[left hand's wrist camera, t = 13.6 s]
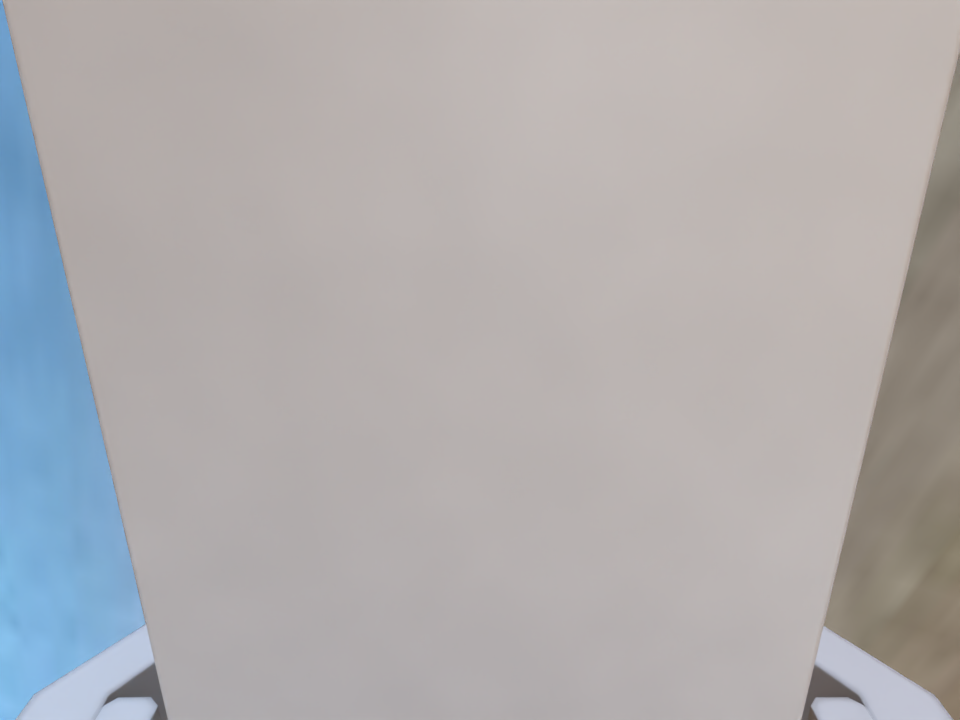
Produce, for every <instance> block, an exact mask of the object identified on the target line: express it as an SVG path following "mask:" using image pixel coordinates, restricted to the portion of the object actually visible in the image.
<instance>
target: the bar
mask: <svg viewBox="0 0 960 720" xmlns="http://www.w3.org/2000/svg"><path fill="white" fill-rule="evenodd" d="M2 1H3V5H4V9H5V14H6V18H7V23H8V27H9V31H10V36H11V40H12V44H13V49H14V53H15V57H16V62H17V66H18V70H19V75H20V79H21V83H22V88H23V92H24V96H25V101H26V105H27V109H28V114H29V118H30V123H31V127H32V131H33V136H34V140H35V144H36V149H37V153H38V157H39V162H40V166H41V170H42V175H43V179H44V183H45V188H46V192H47V196H48V201H49V205H50V209H51V214H52V218H53V223H54V227H55V231H56V236H57V240H58V244H59V249H60V253H61V257H62V262H63V266H64V270H65V275H66V279H67V283H68V288H69V292H70V296H71V301H72V305H73V309H74V314H75V318H76V323H77V327H78V331H79V336H80V340H81V344H82V349H83V353H84V357H85V362H86V366H87V370H88V375H89V379H90V383H91V388H92V392H93V396H94V401H95V405H96V409H97V414H98V418H99V423H100V427H101V431H102V436H103V440H104V444H105V449H106V453H107V457H108V462H109V466H110V470H111V475H112V479H113V483H114V488H115V492H116V496H117V501H118V505H119V509H120V514H121V518H122V523H123V527H124V531H125V536H126V540H127V544H128V549H129V553H130V557H131V562H132V566H133V570H134V575H135V579H136V583H137V588H138V592H139V596H140V601H141V605H142V609H143V614H144V618H145V623H146V627H147V631H148V636H149V640H150V644H151V649H152V653H153V657H154V662H155V666H156V670H157V675H158V679H159V683H160V688H161V692H162V696H163V701H164V705H165V709H166V714H167V718H168V720H801V719H802V715H803V710H804V706H805V702H806V698H807V694H808V689H809V685H810V681H811V677H812V672H813V668H814V664H815V660H816V656H817V651H818V647H819V643H820V639H821V634H822V630H823V626H824V622H825V617H826V613H827V609H828V605H829V601H830V596H831V592H832V588H833V584H834V579H835V575H836V571H837V567H838V563H839V558H840V554H841V550H842V546H843V541H844V537H845V533H846V529H847V525H848V520H849V516H850V512H851V508H852V503H853V499H854V495H855V491H856V487H857V482H858V478H859V474H860V470H861V465H862V461H863V457H864V453H865V448H866V444H867V440H868V436H869V432H870V427H871V423H872V419H873V415H874V410H875V406H876V402H877V398H878V394H879V389H880V385H881V381H882V377H883V372H884V368H885V364H886V360H887V356H888V351H889V347H890V343H891V339H892V334H893V330H894V326H895V322H896V318H897V313H898V309H899V305H900V301H901V296H902V292H903V288H904V284H905V279H906V275H907V271H908V267H909V263H910V258H911V254H912V250H913V246H914V241H915V237H916V233H917V229H918V225H919V220H920V216H921V212H922V208H923V203H924V199H925V195H926V191H927V187H928V182H929V178H930V174H931V170H932V165H933V161H934V157H935V153H936V149H937V144H938V140H939V136H940V132H941V127H942V123H943V119H944V115H945V111H946V106H947V102H948V98H949V94H950V89H951V85H952V81H953V77H954V72H955V68H956V64H957V60H958V56H959V51H960V0H2Z"/></svg>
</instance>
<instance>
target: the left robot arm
mask: <svg viewBox="0 0 960 720" xmlns="http://www.w3.org/2000/svg"><path fill="white" fill-rule="evenodd" d="M16 720H168V718H167V714H166V709H165V705H164V701H163V696H162V692H161V688H160V683H159V679H158V675H157V670H156V666H155V662H154V657H153V653H152V649H151V644H150V640H149V636H148V631H147V627H146V624H145V625H144V626H142V627H140V628H139V629H137V630H136V631H134V632H132V633H131V634H129V635H128V636H126V637H124V638H123V639H121V640H120V641H118V642H117V643H115V644H113V645H112V646H110V647H109V648H107V649H105V650H104V651H102V652H101V653H99V654H97V655H96V656H94V657H93V658H91V659H89V660H88V661H86V662H85V663H83V664H82V665H80V666H78V667H77V668H75V669H74V670H72V671H70V672H69V673H67V674H66V675H64V676H62V677H61V678H59V679H58V680H56V681H55V682H53V683H51V684H50V685H48V686H47V687H45V688H43V689H42V690H40V691H39V692H37V693H35V694H34V695H33V697H32V698H31V699H30V701H29V702H28V703H27V705H26V706H25V707H24V709H23V710H22V711H21V713H20V714H19V715H18V717H17V718H16ZM801 720H953V719H952V718H951V716H950V715H949V714H948V712H947V711H946V710H945V708H944V707H943V706H942V704H941V703H940V702H939V700H938V699H937V698H936V696H935V695H933V694H932V693H930V692H929V691H927V690H925V689H924V688H922V687H921V686H919V685H917V684H916V683H914V682H913V681H911V680H909V679H908V678H906V677H905V676H903V675H901V674H900V673H898V672H897V671H895V670H893V669H892V668H890V667H889V666H887V665H885V664H884V663H882V662H881V661H879V660H877V659H876V658H874V657H873V656H871V655H869V654H868V653H866V652H865V651H863V650H861V649H860V648H858V647H857V646H855V645H853V644H852V643H850V642H849V641H847V640H845V639H844V638H842V637H841V636H839V635H838V634H836V633H834V632H833V631H831V630H830V629H828V628H826V627H825V626H823V630H822V634H821V639H820V643H819V647H818V651H817V656H816V660H815V664H814V668H813V672H812V677H811V681H810V685H809V689H808V694H807V698H806V702H805V706H804V710H803V715H802V719H801Z"/></svg>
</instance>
